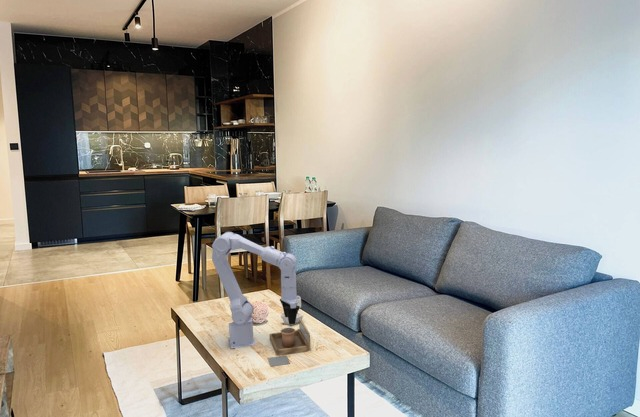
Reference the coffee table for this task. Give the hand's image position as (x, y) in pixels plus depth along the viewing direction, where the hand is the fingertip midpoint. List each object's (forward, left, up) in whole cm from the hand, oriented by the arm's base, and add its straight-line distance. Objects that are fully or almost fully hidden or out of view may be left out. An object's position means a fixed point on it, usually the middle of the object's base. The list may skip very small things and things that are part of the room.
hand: (290, 320), depth 188 cm
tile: (-7, -13, -10) cm, 18 cm away
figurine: (+5, +21, -10) cm, 24 cm away
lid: (+5, -1, -10) cm, 11 cm away
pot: (-1, -1, -9) cm, 9 cm away
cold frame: (-1, -1, -10) cm, 10 cm away
